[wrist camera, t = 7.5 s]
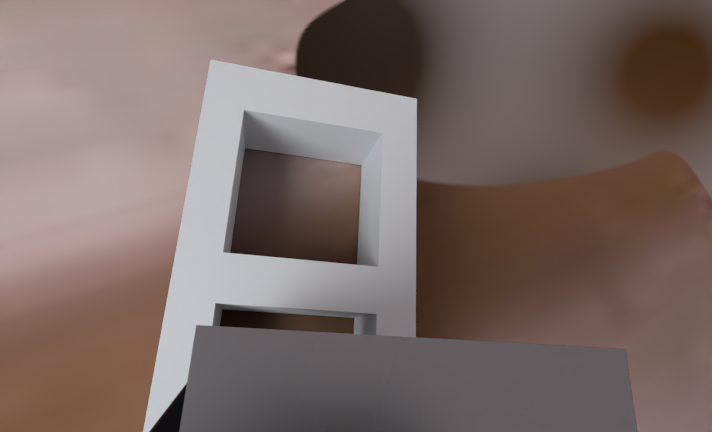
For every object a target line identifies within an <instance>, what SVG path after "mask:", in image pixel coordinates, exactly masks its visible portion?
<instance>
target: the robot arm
mask: <svg viewBox="0 0 712 432" xmlns="http://www.w3.org/2000/svg"><path fill="white" fill-rule="evenodd" d="M186 386H187V383H186V385H185V386H184V387H183V388H182V390H181V391H180V392H179V394H178V395H177V396H176V398H175V399H174V400H173V401H172V403H171V404H170V405H169V407H168V408H167V409H166V410H165V412H164V413H163V414H162V416H161V417H160V418H159V420H158V421H157V422H156V423H155V425H154V426H153V427H152V429H151V430H150V431H149V432H179V430H180V423H181V417H182V411H183V405H184V398H185V392H186Z"/></svg>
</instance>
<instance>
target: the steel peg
mask: <svg viewBox="0 0 712 432" xmlns="http://www.w3.org/2000/svg"><path fill="white" fill-rule="evenodd" d="M179 432H637V425H636V418H635V411H634V404H633V397H632V390H631V383H630V376H629V369H628V362H627V355H626V349H616V348H598V347H580V346H562V345H544V344H526V343H509V342H491V341H473V340H455V339H437V338H419V337H401V336H384V335H366V334H348V333H330V332H312V331H294V330H276V329H258V328H241V327H223V326H205V325H196V330H195V336H194V342H193V348H192V355H191V361H190V367H189V373H188V380H187V386H186V392H185V398H184V405H183V411H182V417H181V423H180V430H179Z"/></svg>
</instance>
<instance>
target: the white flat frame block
mask: <svg viewBox="0 0 712 432" xmlns="http://www.w3.org/2000/svg"><path fill="white" fill-rule="evenodd" d="M245 148H248V149H254V150H261V151H268V152H275V153H281V154H288V155H295V156H302V157H309V158H315V159H322V160H329V161H336V162H343V163H349V164H356V165H362V169H361V190H360V211H359V232H358V252H357V265H355V264H344V263H333V262H322V261H312V260H301V259H290V258H279V257H268V256H258V255H247V254H236V253H230V251H231V244H232V237H233V230H234V223H235V216H236V209H237V202H238V194H239V187H240V180H241V173H242V166H243V159H244V152H245ZM416 174H417V99H415V98H410V97H405V96H399V95H395V94H389V93H384V92H378V91H373V90H368V89H362V88H357V87H352V86H347V85H342V84H336V83H331V82H326V81H321V80H315V79H310V78H305V77H300V76H294V75H289V74H284V73H278V72H273V71H268V70H263V69H257V68H252V67H247V66H242V65H236V64H231V63H226V62H220V61H215V60H211V61H210V66H209V72H208V77H207V83H206V88H205V94H204V99H203V105H202V110H201V116H200V121H199V127H198V132H197V138H196V143H195V149H194V154H193V160H192V165H191V171H190V176H189V182H188V187H187V193H186V198H185V204H184V209H183V215H182V220H181V226H180V231H179V237H178V242H177V248H176V253H175V259H174V264H173V270H172V275H171V281H170V286H169V292H168V297H167V303H166V308H165V314H164V319H163V325H162V330H161V336H160V341H159V347H158V353H157V358H156V364H155V369H154V375H153V380H152V386H151V391H150V397H149V402H148V408H147V413H146V419H145V424H144V430H143V432H149V431H150V430H151V429H152V427H153V426H154V425H155V423H156V422H157V421H158V420H159V418H160V417H161V416H162V414H163V413H164V412H165V410H166V409H167V408H168V407H169V405H170V404H171V403H172V401H173V400H174V399H175V398H176V396H177V395H178V394H179V392H180V391H181V390H182V388H183V387H184V386H185V385H186V383H187V380H188V373H189V367H190V361H191V355H192V348H193V342H194V336H195V330H196V325H205V326H220V322H221V315H222V309H224V310H239V311H255V312H271V313H287V314H302V315H318V316H334V317H350V318H354V334H366V335H384V336H401V337H416V192H417V175H416Z"/></svg>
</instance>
